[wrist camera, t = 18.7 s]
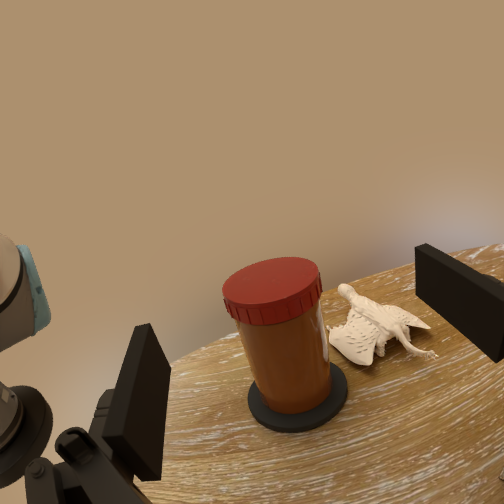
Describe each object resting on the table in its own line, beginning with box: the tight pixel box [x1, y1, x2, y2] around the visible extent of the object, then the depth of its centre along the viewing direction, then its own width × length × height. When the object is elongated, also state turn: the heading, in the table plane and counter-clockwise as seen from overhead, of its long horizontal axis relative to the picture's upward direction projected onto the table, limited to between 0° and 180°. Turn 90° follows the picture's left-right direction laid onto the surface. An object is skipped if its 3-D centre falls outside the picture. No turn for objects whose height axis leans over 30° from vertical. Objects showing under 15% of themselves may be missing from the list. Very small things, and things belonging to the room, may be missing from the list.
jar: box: [235, 299, 332, 414], centre depth 27 cm, size 7×7×12 cm
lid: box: [222, 257, 323, 325], centre depth 25 cm, size 8×8×2 cm
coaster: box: [248, 362, 347, 433], centre depth 28 cm, size 10×10×1 cm
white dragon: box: [326, 284, 439, 366], centre depth 32 cm, size 18×10×4 cm, turn 17°
